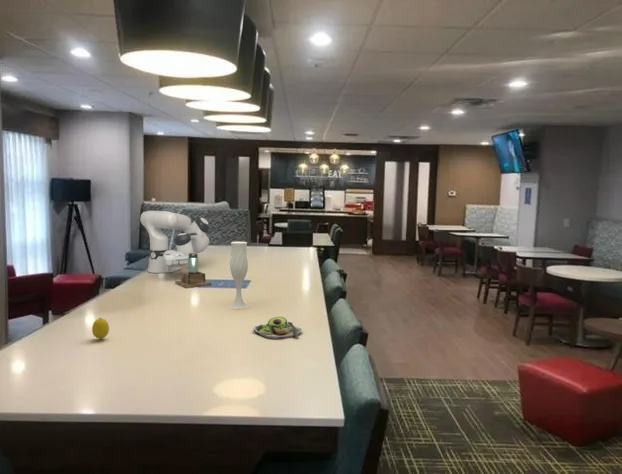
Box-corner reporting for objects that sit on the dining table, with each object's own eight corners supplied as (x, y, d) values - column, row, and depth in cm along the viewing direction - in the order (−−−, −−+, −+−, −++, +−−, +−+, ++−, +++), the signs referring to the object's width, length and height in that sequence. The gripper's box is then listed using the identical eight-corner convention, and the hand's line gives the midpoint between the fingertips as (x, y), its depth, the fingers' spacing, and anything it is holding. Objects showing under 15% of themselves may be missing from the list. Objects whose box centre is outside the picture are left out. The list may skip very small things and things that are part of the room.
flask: (188, 281, 286) (188, 253, 285) (198, 281, 287) (198, 253, 285) (187, 282, 281) (187, 254, 279) (197, 282, 281) (197, 254, 280)
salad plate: (314, 336, 191) (314, 324, 191) (274, 344, 181) (274, 331, 180) (286, 324, 207) (286, 313, 206) (247, 331, 196) (247, 319, 196)
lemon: (111, 340, 181) (111, 318, 180) (96, 343, 177) (95, 320, 176) (105, 336, 185) (105, 315, 184) (90, 339, 181) (89, 317, 180)
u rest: (175, 283, 286) (175, 272, 285) (199, 281, 295) (199, 270, 294) (186, 288, 274) (185, 276, 273) (211, 285, 283) (211, 273, 282)
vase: (250, 305, 237) (250, 241, 234) (246, 309, 229) (246, 243, 226) (231, 304, 238) (231, 241, 235) (227, 308, 230) (227, 243, 227)
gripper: (193, 263, 307) (203, 266, 296) (160, 265, 295) (169, 269, 284) (193, 252, 307) (203, 255, 296) (160, 255, 295) (169, 258, 284)
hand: (186, 262), depth 290 cm, fingers open, 8 cm apart
